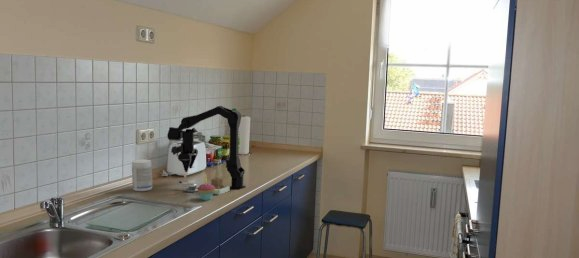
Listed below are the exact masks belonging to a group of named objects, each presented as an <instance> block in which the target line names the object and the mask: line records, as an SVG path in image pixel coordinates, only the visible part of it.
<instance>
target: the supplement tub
mask: <svg viewBox="0 0 579 258" xmlns="http://www.w3.org/2000/svg"><path fill="white" fill-rule="evenodd" d="M152 166H153V165H152V160H151V159H145V158H144V159H143V158H142V159H133V160H132V161H131V178H132V179H131V180H132V190H133V191H134V192H147V191H151V190H152V189H153V167H152Z"/></svg>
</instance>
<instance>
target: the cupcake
mask: <svg viewBox="0 0 579 258" xmlns="http://www.w3.org/2000/svg"><path fill="white" fill-rule="evenodd" d="M204 179H205V180H204V182H205V183H203V184H201V185H200V184H199V186H198V187H197V188H198V189H197V191H198V192H197V193H198V194H199V196H200V199H201V200H202V201H209V200H212V198H213V197H212V196H213V195H214V194H213V192H215V187H214V186H213V185H211V184H210V183H207V181H208V179H207V173H206V172H205V175H204Z"/></svg>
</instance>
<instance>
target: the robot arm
mask: <svg viewBox="0 0 579 258" xmlns="http://www.w3.org/2000/svg"><path fill="white" fill-rule="evenodd" d="M218 115H220V116H221V117H223V118H225V119H227V125H228V128H229V156H228V158H227V159H225V165H226V166H225V168H226V171H227V172H228V173H229V175H230V177H231V183H230V189H237V190H240V189H244V188H246V187H247V186H246V185H244V174H246V173H245V172H246V170H245V169H244V167H243V166H241V165H242V164H241V159H240V156H239V128H240V125H241V121H242V114H241V112H240V111H238V110H232V109H230V108H227V107H225V106H222V105H217V106H216V107H214V108H211V109H209V110H206V111H204V112H201V113H199V114H196V115H190V116H186V117H183V118H182V119H181V121H180V123H179V126H178V127H173V126H169V127H168V132H167V134H166V135H167V136H166V137H167V140H168V141H181V140H182V142H181V143H180V145H179V146H178V145H177V146H176V145H175V146H172V148H171V150H170V152H171V153H172V155H176V154H178V155H177V160H178V161H180V162H181V163H182V166H183V170H184V172H185V173H187V172H188V171H189V169H193V166H194V163H195V160H196V159H197V156H198V154H199V151H198V149H197V148H194V147H195V143H196V142H194V141H195V140H194V136H195V135H194V134H195V133H198V130H197V129H196V128H195V127H194V126H196V125H197V124H199V123H200V122H202V121H204V120H207V119H209V118H212V117H215V116H218Z"/></svg>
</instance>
